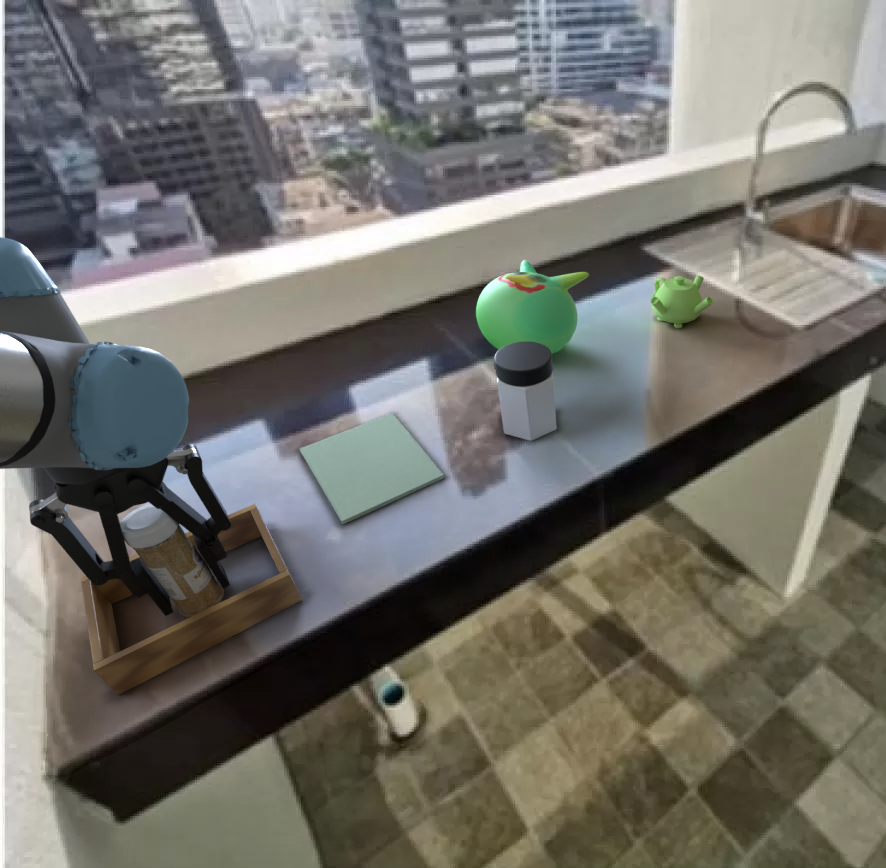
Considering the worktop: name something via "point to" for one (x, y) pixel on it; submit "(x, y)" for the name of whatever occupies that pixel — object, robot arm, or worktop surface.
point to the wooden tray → (195, 631)
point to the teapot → (679, 300)
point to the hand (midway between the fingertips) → (196, 592)
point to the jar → (526, 389)
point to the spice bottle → (172, 559)
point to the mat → (369, 466)
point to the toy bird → (529, 308)
